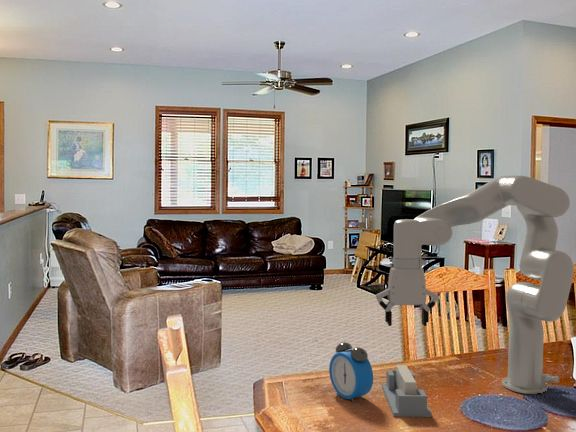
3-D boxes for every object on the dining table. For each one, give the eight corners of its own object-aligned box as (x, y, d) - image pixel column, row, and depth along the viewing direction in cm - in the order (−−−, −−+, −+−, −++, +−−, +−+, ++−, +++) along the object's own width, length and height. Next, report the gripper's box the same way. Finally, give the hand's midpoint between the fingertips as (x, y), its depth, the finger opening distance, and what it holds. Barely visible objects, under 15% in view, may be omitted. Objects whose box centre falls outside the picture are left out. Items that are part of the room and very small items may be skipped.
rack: (415, 387, 165) (415, 369, 165) (431, 416, 145) (432, 396, 144) (382, 387, 166) (382, 369, 165) (393, 416, 145) (393, 396, 145)
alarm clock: (328, 391, 162) (328, 341, 161) (344, 387, 166) (344, 338, 165) (357, 406, 151) (358, 352, 150) (374, 401, 155) (374, 349, 154)
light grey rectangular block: (405, 388, 162) (406, 365, 162) (415, 407, 148) (416, 382, 148) (395, 388, 162) (396, 365, 162) (404, 407, 148) (404, 382, 148)
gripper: (435, 261, 156) (434, 321, 157) (374, 262, 157) (373, 321, 158) (442, 265, 149) (441, 328, 150) (377, 266, 149) (377, 328, 150)
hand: (406, 324), depth 154 cm, fingers open, 9 cm apart
